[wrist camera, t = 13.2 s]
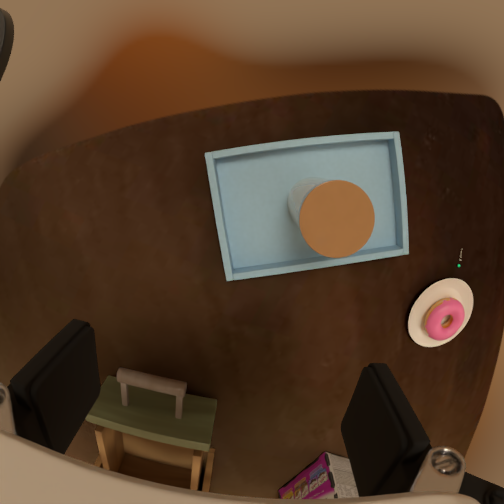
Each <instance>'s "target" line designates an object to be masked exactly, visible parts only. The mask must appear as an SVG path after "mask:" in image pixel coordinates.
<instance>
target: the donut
mask: <svg viewBox="0 0 504 504" xmlns="http://www.w3.org/2000/svg"><path fill="white" fill-rule="evenodd" d="M461 250H463V249H461ZM461 253H462V252H461ZM460 255H462V254H460ZM460 257H461V256H460ZM461 258H462V257H461ZM459 260H460V259H459ZM460 261H461V260H460ZM458 267H460V264H458ZM472 308H473V294H472V291H471V289H470V287H469V286H468V285H467V284H466V283H465V282H464V281H462V280H460V279H455V278H449V279H444V280H441V281H438V282H436V283H434V284H432V285H431V286H430V287H428V288H427V289H426V290H425V291H424V292H423V293H422V294H421V295H420V296H419V297H418V299H417V300H416V301H415V303H414V305H413V307H412V309H411V312H410V314H409V319H408V330H409V334H410V336H411V338H412V339H413V340H414V341H415V342H416V343H417V344H419V345H421V346H425V347H435V346H439V345H442V344H444V343H446V342H448V341H450V340H451V339H453V338H454V337H455V336H456V335H457V334H459V333H460V332H461V330H462V329H463V328H464V327H465V325H466V323H467V322H468V320H469V318H470V315H471V313H472Z"/></svg>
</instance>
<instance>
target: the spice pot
mask: <svg viewBox="0 0 504 504" xmlns="http://www.w3.org/2000/svg"><path fill="white" fill-rule="evenodd" d="M287 207H288V211H289V214H290V216H291V217H292V219H293V220H294V222H295V223H296V225H297V226H298V228H299V229H300V232H301V235H302V236H303V238H304V240H305V241H306V243H307V244H308V245H309V246H310V247H311V248H312V249H313V250H314V251H315V252H317V253H319V254H320V255H323V256H326V257H330V258H342V257H346V256H349V255H352V254H354V253H355V252H357V251H358V250H360V249H361V248H362V247H363V246H364V245H365V244H366V243H367V241H368V240H369V238H370V236H371V234H372V232H373V228H374V223H375V213H374V208H373V205H372V202H371V200H370V198H369V197H368V195H367V194H366V193H365V192H364V190H362V189H361V188H360V187H359V186H357V185H356V184H353V183H351V182H348V181H344V180H330V179H324V178H319V177H307V178H304V179H301V180H300V181H298V182H297V183H296V184H295V185H294V186H293V187H292V188H291V190H290V192H289V194H288V198H287Z"/></svg>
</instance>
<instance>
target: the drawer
mask: <svg viewBox="0 0 504 504" xmlns="http://www.w3.org/2000/svg"><path fill="white" fill-rule="evenodd" d="M186 389H187V382H185V381H180V380H175V379H170V378H165V377H161V376H156V375H152V374H148V373H143V372H139V371H135V370H131V369H127V368H123V367H119V369H118V371H117V377H113V376H110V375H108V377H107V378H106V380H105V381H104V383H103V384H102V386H101V390H100V395H99V397H98V398H97V400H96V402H95V403H94V405H93V407H92V408H91V410H90V411H89V413H88V415H87V416H86V421H88V422H91V423H94V424H97V427H96V429H95V435H96V439H97V444H98V448H99V452H100V456H101V460H102V464H103V468H104V469H107V470H110V471H113V472H117V473H120V474H124V475H127V476H131V477H135V478H139V479H143V480H147V481H151V482H155V483H160V484H164V485H169V486H174V487H179V488H184V489H190V490H196V491H198V489H199V483H200V478H201V472H202V464H203V456H204V451H208V452H209V450H210V444H211V437H212V431H213V425H214V419H215V412H216V406H217V399H212V398H206V397H200V396H195V395H190V394H186Z"/></svg>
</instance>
